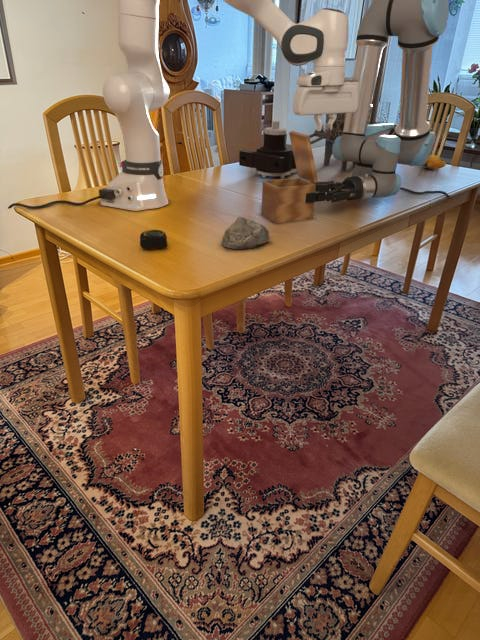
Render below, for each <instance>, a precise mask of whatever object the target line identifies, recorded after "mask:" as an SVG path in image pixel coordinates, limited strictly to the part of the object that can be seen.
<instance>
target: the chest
mask: <svg viewBox="0 0 480 640" xmlns="http://www.w3.org/2000/svg"><path fill="white" fill-rule="evenodd" d="M315 188H316V185H315V184H313V183H311V181H308V180H306V179H304V178H301V177H291V178H279V179H270V180H269V179H268V180H262V188H261V189H262V190H261V207H260V208H261V211H260V214H261V216H263V217H265V218H266V219H267V220H269V221H270V222H272V223H274V224H282V223H289V222H297V221H305V220H312V219H313V215H314V205H315V202H310V203H306V202H305V201H306V193H315Z"/></svg>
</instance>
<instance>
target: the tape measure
mask: <svg viewBox="0 0 480 640" xmlns="http://www.w3.org/2000/svg"><path fill="white" fill-rule="evenodd" d="M167 236H168V235H167V234H166V232H165V231H164V230H161V229H147V230H144V231H143V232H141V233H140V235H139V240H140V241H139V245H140V246H139V247H141V248H142V249H146V250H157V249H167V248H168V240H167V239H168V237H167Z"/></svg>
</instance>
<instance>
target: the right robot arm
mask: <svg viewBox="0 0 480 640" xmlns="http://www.w3.org/2000/svg"><path fill="white" fill-rule="evenodd" d="M449 15H450V3H449V0H373V1H372V2H371V4H370V6H369V7H368V8H367V10H366V11H365V13H364V15H363V17H362V18H361V21H360V24H359V27H358V29H357V33H356V39H355V44H356V46H357V51H356V57H355V62H354V69H353V73H352V77H353V78H355V79H356V80H357V81H358V83H359V86H358V108H357V110H356V112H354V113H346V118H345V124H344V129H343V135H342V136H341V137H337V138H336V139H335V141H334V144H333V148H332V153H333V154H332V156H333V158H334V159H336V160H339V161H342V160H343V161H346V162H347V163H348V162H350V163H352V162H356V165H355V166H354V167H353V171H351V174H350V175H349V176H347V177H345V178H344V180H343V181H342V182H340V181H336V182H335V181H334V180H327V181H318V182H316V183H313V182H311V181H310V182H311V183H313V184H315V185H316V188H315V193H306V201H305V202H306V203H310V202H314V203H321V202H330V203H332V204H335V203H339V202H342V201H347V202H351V201H358V200H359V201H362V200H371V199H378V198H388V197H392V196H395V195H397V194H398V193H399V192H400V191H403V192H407V193H410V194H412V195H413V194H414V195H419V196H420V195H425V194H440V195H444V196H445V197H446V198H448V199H450V198H451V196H450V195H449V194H448V193H447V192H446V191H443V190H425V191H415V190H412V189H408V188H406V187H401V186H402V182H401V176H400V175H399V174H398V173H396V171H397V167H398V166H397V165H398V164H399V165H403V166H404V165H405V166H409V167H423V166H422V165H424V164H425V162H426V161H427V160H428V158H429V156H430V155H432V154H431V153H432V152H433V148H434V145H435V142H436V138H437V137H436V133H435V132H433V131H431V123H430V122H428V121H427V113H428V104H429V93H430V92H429V91H430V80H431V69H432V57H433V56H432V55H433V47H434V46H435V45H436V44H437V43H438V41H439V38H440V36H442V35H443V34H444V33H445V31H446V29H447V27H448V26H447V25H448V20H449ZM390 37H397V46H398V48H399V49H401V51H402V55H401V56H402V57H401V78H400V80H401V81H400V101H399V102H400V103H399V122H398V123H397V124H396V125H395V124H394V123H390V122H389V123H388V122H386V123H385V122H384V123H373V124H369V125H367V123H368V118H369V114H370V109H371V105H373V104H372V103H373V98H374V93H375V89H376V84H377V78H378V74H379V69H380V66H381V65H380V64H381V60H382V55H383V50H384V48H385V47H387V46H388V41H389V38H390ZM354 82H356V81H354Z"/></svg>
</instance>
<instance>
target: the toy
mask: <svg viewBox="0 0 480 640" xmlns="http://www.w3.org/2000/svg"><path fill="white" fill-rule="evenodd" d="M446 166H447V162H446V161H444V160H442V159H441V158H440V156H439V155H435V154H430V156H429V158H428V160H427V161H426V162H425V164H424V165H422V166H421V167H425V168H427V169H429V170H432V171H433V170H434V171H435V170H438V169H443V168H444V167H446Z"/></svg>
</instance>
